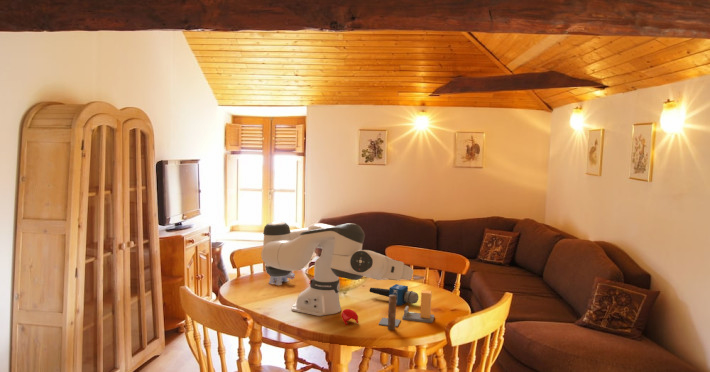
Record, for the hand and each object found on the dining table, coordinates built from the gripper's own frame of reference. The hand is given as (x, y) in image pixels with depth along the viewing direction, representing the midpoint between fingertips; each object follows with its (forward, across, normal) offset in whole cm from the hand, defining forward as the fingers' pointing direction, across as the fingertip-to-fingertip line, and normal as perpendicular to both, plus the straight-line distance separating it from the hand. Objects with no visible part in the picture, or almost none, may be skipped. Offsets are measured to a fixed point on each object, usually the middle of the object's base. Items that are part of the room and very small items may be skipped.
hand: (391, 270), depth 186 cm
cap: (+23, -22, -24) cm, 41 cm away
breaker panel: (+43, +1, -17) cm, 46 cm away
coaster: (+32, -8, -21) cm, 39 cm away
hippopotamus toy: (+59, -82, -16) cm, 102 cm away
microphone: (+59, -18, -13) cm, 63 cm away
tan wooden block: (+43, +4, -15) cm, 46 cm away
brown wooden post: (+26, -4, -23) cm, 34 cm away
